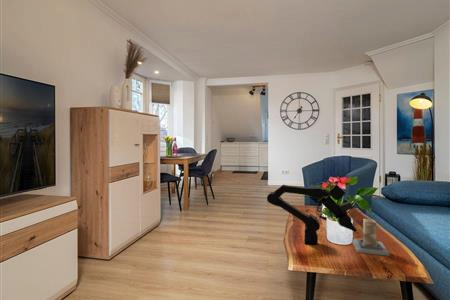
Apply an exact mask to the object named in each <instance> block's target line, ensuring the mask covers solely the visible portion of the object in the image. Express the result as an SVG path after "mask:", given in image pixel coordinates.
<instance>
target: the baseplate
mask: <svg viewBox="0 0 450 300" xmlns="http://www.w3.org/2000/svg"><path fill="white" fill-rule="evenodd" d="M351 242H352V244H353V247H354V248H355V250H356V252H357V253H360V254H361V253H362V254H371V255H379V256H380V255H381V256H388V257H389V256H390V251H389V250H388V249H387V248H386V246H385V245H384V244H383V243H382V241H378V240H376V247H373V246H364V244H363V239H362V238H361V239H359V238H358V239H355V238H352V239H351Z"/></svg>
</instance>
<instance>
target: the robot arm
mask: <svg viewBox="0 0 450 300" xmlns="http://www.w3.org/2000/svg"><path fill="white" fill-rule="evenodd" d="M285 193H288V194H296V195H304V196H307V197H309V198H310V197H311V198H313V199H317V205H318V206H320V205H323V206H324V207H325V208H326V210H328V211H329V213H330V214H332V215H333V217H335V219H336V220H337V224H338V225H339V226H340V227H342V228H346V229H348V230H350V231H353V232H357V229H356V227H355V226H354V223H353V222H352V218H351V216H350V215H349V214H348V211H349V210H354V209H355V208H354V205H353V204H352V202H351V201H350V200H346V199H342V198H343V197H344V196H345V195H346V194H347V192H346V191H345V190H344V189H343V188H342V187H340V186H339V185H338V184H334V186H333V187H331V188H330V189H329V190H328V189H324V188H322V186H321V187H320V186H309V187H304V186H297V185H296V186H295V185H287V184H282V185H280V187H278V188H276V190H274V191H270V192H269V193H268V194H267V196H266V201H267V203H269V204H271V205H273V206H277V207H280V208H281V209H283V210H284V211H286V212H287V213H288V214H291V215H292V216H294V217H295V218H297V219H298V220H300V221H302V222H303V224H304V230H303V232H304V239H303V241H304V245H312V246H317V245H318V243H319V239H318V238H319V235H318V233H317V231H319V230H320V228H321V225H320V223H321V222H320V221H319V219H318V217H317V216H315V215H314V214H313V213H309V214H308V213H307V214H306V213H305V212H303V211H302V210H300V209H298V208H297V207H295V206H294V205H292V204H291V203H289V202H287V201H286V200H284V199H283V197H281V196H282V195H284V194H285ZM341 199H342V203H340V204H339V202H338V203H337V202H336V201H339V200H341ZM338 218H339V219H338ZM351 222H352V223H351Z"/></svg>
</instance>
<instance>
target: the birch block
mask: <svg viewBox="0 0 450 300" xmlns="http://www.w3.org/2000/svg"><path fill="white" fill-rule="evenodd" d="M362 220H363V221H362V223H363V225H362V238H363V239H362V240H363V244H364V246H373V247H376V241H377V222H376V221H375V219H371V218H370V219H369V218H363V219H362Z"/></svg>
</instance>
